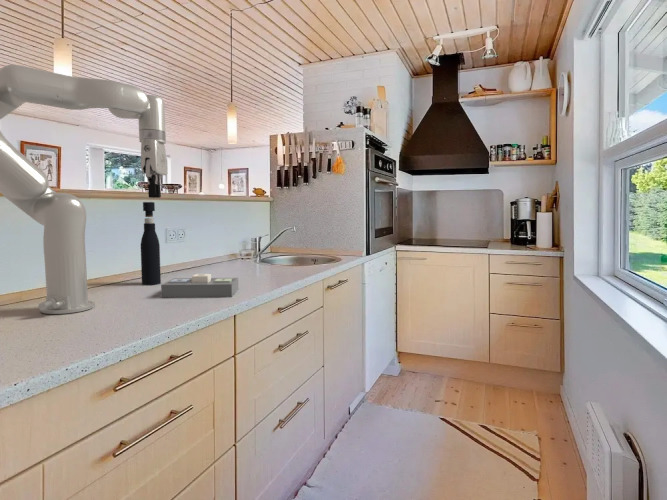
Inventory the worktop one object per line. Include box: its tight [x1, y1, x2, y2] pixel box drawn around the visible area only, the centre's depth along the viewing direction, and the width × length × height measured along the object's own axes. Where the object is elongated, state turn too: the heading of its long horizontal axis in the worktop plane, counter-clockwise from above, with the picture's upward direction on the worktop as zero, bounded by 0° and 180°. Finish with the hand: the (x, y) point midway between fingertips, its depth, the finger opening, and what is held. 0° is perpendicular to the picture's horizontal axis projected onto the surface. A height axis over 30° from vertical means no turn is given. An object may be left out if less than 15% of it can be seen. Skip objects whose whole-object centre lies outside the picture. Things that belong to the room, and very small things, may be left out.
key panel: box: [160, 277, 239, 299], centre depth 139 cm, size 13×22×4 cm, turn 94°
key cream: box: [191, 273, 212, 283], centre depth 138 cm, size 5×5×3 cm
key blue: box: [169, 278, 190, 283], centre depth 138 cm, size 5×5×3 cm
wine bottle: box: [140, 201, 162, 286], centre depth 155 cm, size 6×6×30 cm
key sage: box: [214, 277, 233, 283], centre depth 139 cm, size 5×5×3 cm
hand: (154, 197), depth 132 cm, fingers closed
